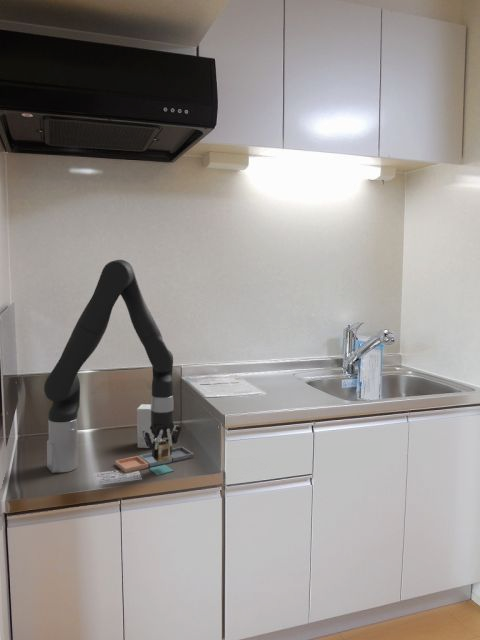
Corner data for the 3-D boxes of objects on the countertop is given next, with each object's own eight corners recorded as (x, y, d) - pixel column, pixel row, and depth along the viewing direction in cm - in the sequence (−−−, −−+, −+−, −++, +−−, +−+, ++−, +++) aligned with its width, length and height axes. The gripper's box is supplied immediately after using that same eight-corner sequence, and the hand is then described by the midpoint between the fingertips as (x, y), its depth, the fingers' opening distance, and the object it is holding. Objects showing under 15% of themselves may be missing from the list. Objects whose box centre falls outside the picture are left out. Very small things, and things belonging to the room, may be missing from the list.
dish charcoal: (172, 462, 185) (173, 458, 185) (161, 454, 192) (161, 450, 192) (193, 457, 190) (193, 453, 190) (182, 450, 197) (182, 446, 196)
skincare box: (162, 443, 203) (162, 404, 202) (157, 449, 197) (158, 409, 195) (141, 442, 204) (141, 403, 202) (136, 448, 198) (136, 408, 196)
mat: (157, 475, 173) (157, 474, 173) (149, 469, 178) (149, 468, 178) (173, 471, 177) (173, 470, 177) (165, 465, 182) (165, 464, 182)
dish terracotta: (125, 473, 174) (125, 468, 174) (115, 464, 181) (115, 460, 181) (148, 467, 179) (148, 463, 179) (137, 459, 186) (137, 455, 186)
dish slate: (149, 467, 180) (149, 463, 179) (139, 459, 186) (139, 455, 186) (171, 462, 185) (171, 458, 184) (160, 454, 191) (160, 451, 191)
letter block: (159, 463, 174) (159, 445, 173) (153, 459, 177) (154, 442, 177) (170, 460, 176) (170, 443, 176) (164, 457, 180) (164, 439, 179)
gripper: (147, 414, 168) (147, 465, 170) (186, 407, 176) (185, 457, 178) (137, 408, 174) (137, 458, 176) (175, 402, 182) (175, 450, 184)
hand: (161, 457), depth 177 cm, fingers closed on letter block, 4 cm apart
